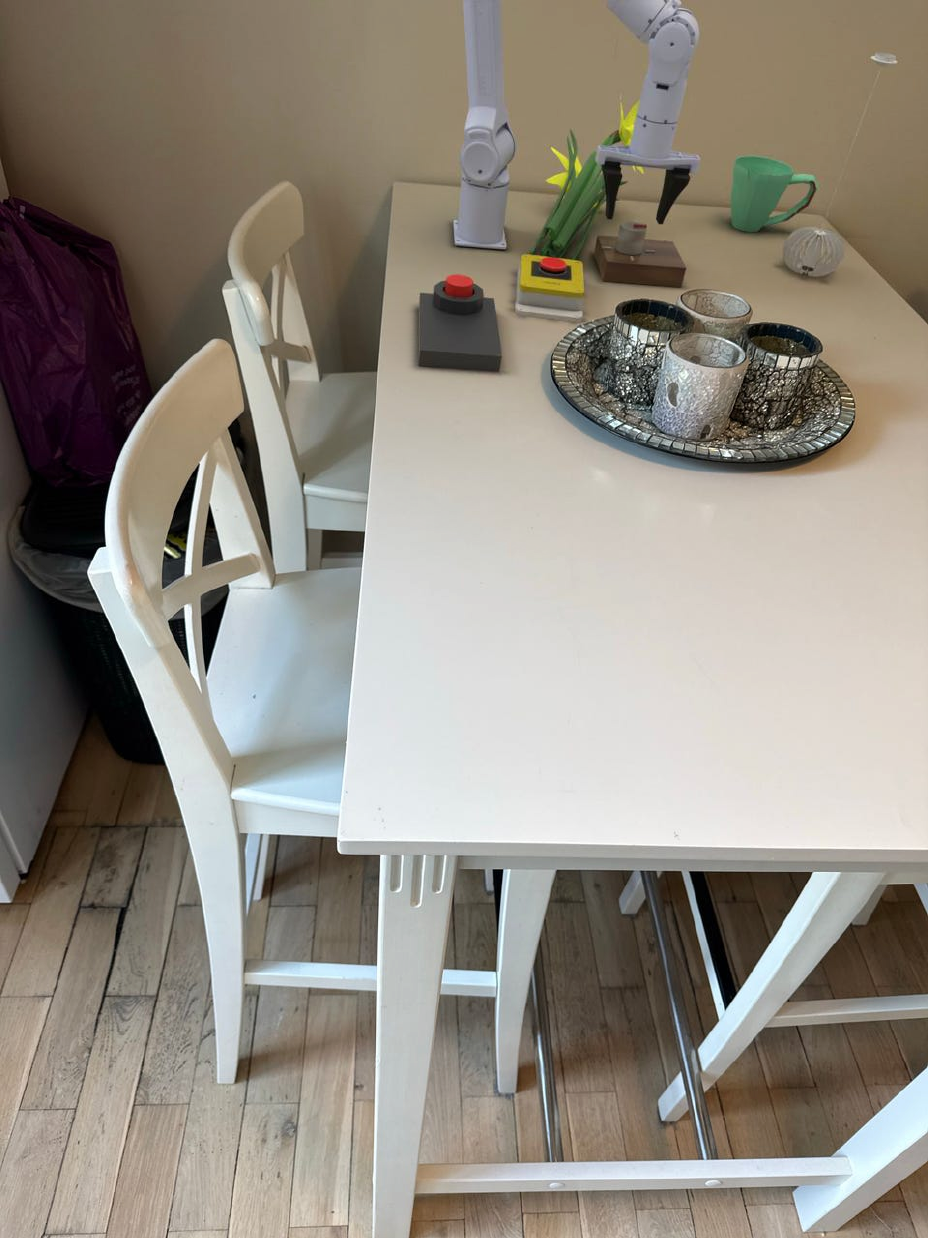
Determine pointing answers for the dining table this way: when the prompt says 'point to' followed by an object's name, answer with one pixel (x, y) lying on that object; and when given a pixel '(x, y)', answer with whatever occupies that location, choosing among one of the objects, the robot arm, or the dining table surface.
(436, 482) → the dining table surface
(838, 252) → the pendant light
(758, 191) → the mug
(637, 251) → the dimmer knob
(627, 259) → the dimmer panel
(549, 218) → the daffodil flowers
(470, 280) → the light button
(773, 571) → the dining table surface
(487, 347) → the switch box
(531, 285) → the emergency button
